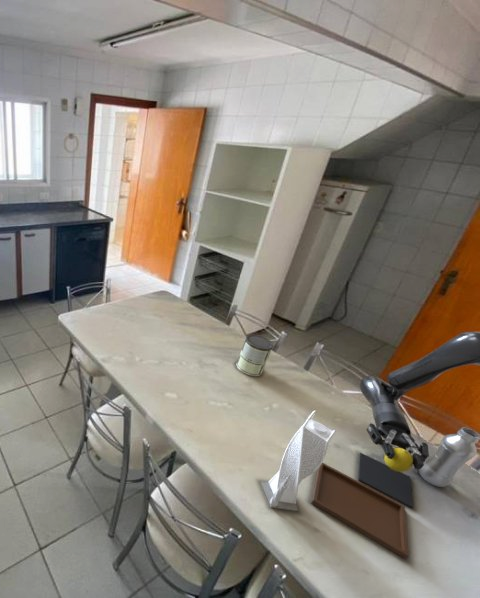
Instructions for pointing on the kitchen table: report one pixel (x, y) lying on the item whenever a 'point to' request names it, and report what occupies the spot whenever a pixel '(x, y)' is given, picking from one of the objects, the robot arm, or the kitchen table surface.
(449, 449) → the silver metal flask
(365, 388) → the robot arm
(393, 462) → the lemon
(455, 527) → the kitchen table surface
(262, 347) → the coffee can
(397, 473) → the plate
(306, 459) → the skyscraper
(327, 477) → the tray
